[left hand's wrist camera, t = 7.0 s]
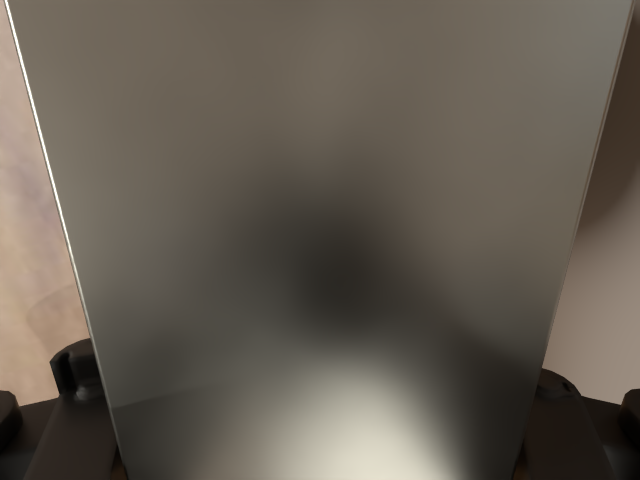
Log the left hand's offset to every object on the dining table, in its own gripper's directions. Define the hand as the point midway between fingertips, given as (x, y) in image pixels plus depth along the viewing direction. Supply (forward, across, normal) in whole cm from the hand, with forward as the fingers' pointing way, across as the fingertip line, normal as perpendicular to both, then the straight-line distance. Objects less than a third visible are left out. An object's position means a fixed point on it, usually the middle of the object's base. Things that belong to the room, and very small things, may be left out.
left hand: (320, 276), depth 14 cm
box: (+1, 0, -9) cm, 9 cm away
